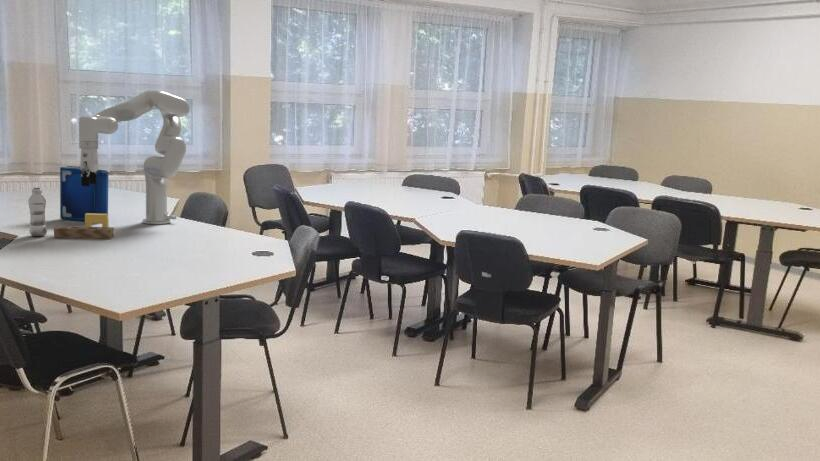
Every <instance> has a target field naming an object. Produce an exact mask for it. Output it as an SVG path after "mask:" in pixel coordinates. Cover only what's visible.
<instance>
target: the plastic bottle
mask: <svg viewBox="0 0 820 461" xmlns="http://www.w3.org/2000/svg"><path fill="white" fill-rule="evenodd" d="M42 193H43V188H42V187H32V188H31V195H30V196H29V198H28V200H27V202H28V208H29V216H30V217H29V218H30V219H29V220H30V221H29V222H30V223H29V224H30V225H29V230H28V231H29V233H30V235H31V236H32V237H43V236H46V235H47V234H48V227H47V226H48V225H47V223H46V205H47V204H46V202H47V201H46V198H45V196H44V195H43V194H42Z"/></svg>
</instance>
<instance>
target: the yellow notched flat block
mask: <svg viewBox="0 0 820 461" xmlns="http://www.w3.org/2000/svg"><path fill="white" fill-rule="evenodd" d="M92 224H94V225H95V224H96V225H98V224H102V225H101V227H110V226H109V213H108V214H95V213H86V214H85V222H84V227H93V226H92Z"/></svg>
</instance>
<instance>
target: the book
mask: <svg viewBox="0 0 820 461" xmlns="http://www.w3.org/2000/svg"><path fill="white" fill-rule="evenodd" d="M59 173H60V175H59V179H60V180H59V186H60V187H59V189H60V190H59V191H60V192H59V199H60V200H59V204H60V206H59V207H60V208H59V210H60V211H59V213H60V215H59V216H60V217H59V218H60V220H65V221H73V222H83V223H85V214H86V213H95V214H108V215H109V171H108V170H105V169H98V170H97V171H96V182H97V183H96V184H90V186H82V185H81V174H82V173H81V166H76V165H73V166H72V165H67V166H61V167H60V169H59Z"/></svg>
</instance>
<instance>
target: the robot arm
mask: <svg viewBox="0 0 820 461" xmlns="http://www.w3.org/2000/svg"><path fill="white" fill-rule="evenodd" d="M152 110H159V112H160V114H161V118H162V120H163V121H162V127H161V129H160V132H159V134H158V137H157V139H156V140H155V144H154V150H155V152H156V153H157V154H158V156H157V155H152V156H149V157H147V158H146V159H145V160H144V162H143V165H142V166H143V168H142V169H143V173H144V179H145V180H144V181H145V218H143V219H142V223H143V224H146V225H166V224H170V223H171V220H177V215H175V214H173V215H171V214H169V212H168V191H167V190H168V185H167V181H166V179H171V178H173V177H175V176H176V175H177V173H178V171H179V170H180V167H181V165H182V162H183V159H184V157H185V155H186V152H187V144H186V141H185V140H184V139H183V138H182V137H180V135H181V131H182V121H181V119H180V118H184V117H186V116H187V115H188V114H189V112H190V104H189V103H188V101H187V100H186V99H184V98H182V97H179V96H176V95H174V94H171V93H169V92H165V91H164V90H151V89H150V90H145V91H143V92H141V93H139V94H137V95H135V96H134V97H132V98H131V99H129V100H127V101H125V102H122V103H118V104H116V105H114V106H110V107H108V108H105V109H103V110H101V111H99V112H97V113H96V114H94V115H92V116H89V115H87V116H86V115H83V116H80V117H79V118H78V149H80V167H81V173H82V174H81V185H82V186H90V184H96V183H97V182H96V171H97V170H100V169H99V152H98V150H99V134H106V135H112V134H114V133H116V132H117V131H118V129H119V123H121V122H130V121H133V120H137V119H139V118H140V117H142V116H144V115H145V114H147V113H148V112H150V111H152ZM159 155H161V156H159Z"/></svg>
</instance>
